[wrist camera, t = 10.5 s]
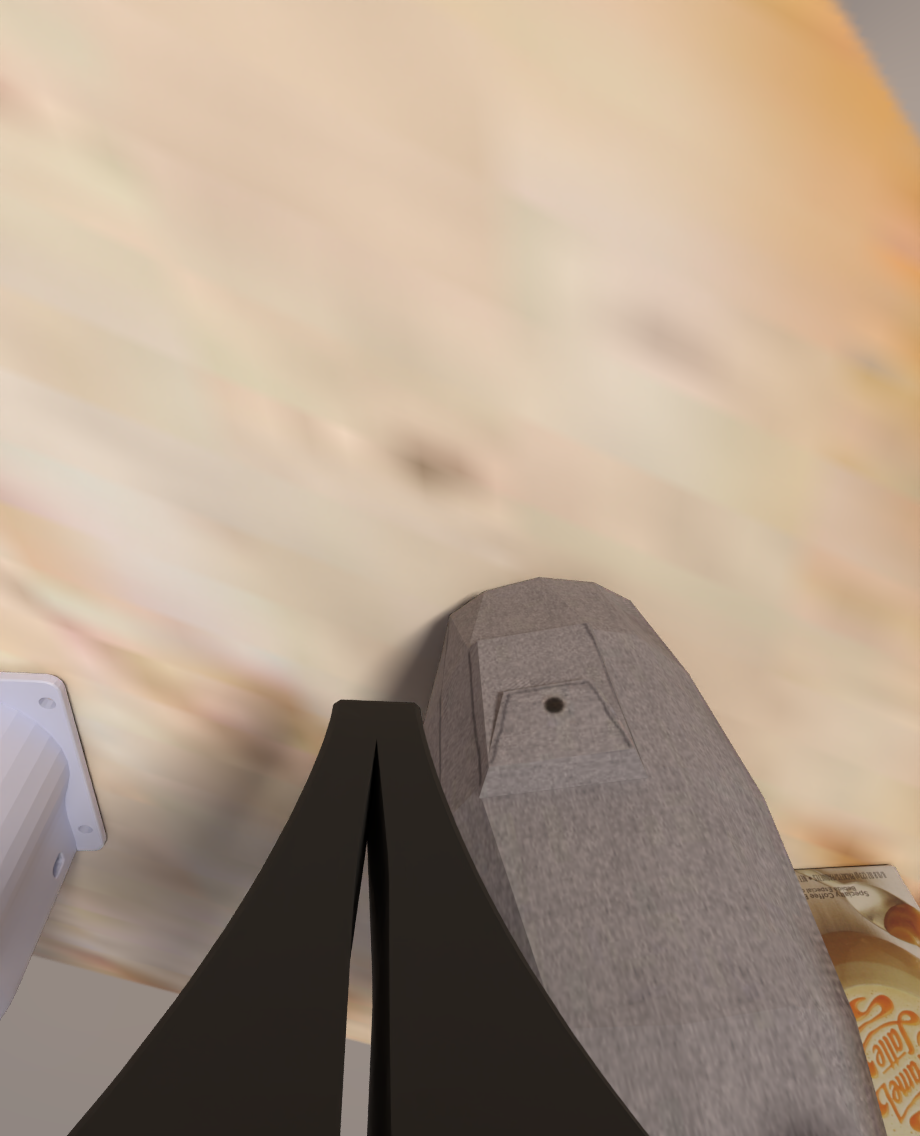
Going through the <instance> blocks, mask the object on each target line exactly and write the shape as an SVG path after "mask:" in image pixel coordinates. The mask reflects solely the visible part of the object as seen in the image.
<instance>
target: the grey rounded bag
mask: <svg viewBox="0 0 920 1136" xmlns="http://www.w3.org/2000/svg"><path fill="white" fill-rule="evenodd" d="M423 727H424V732H425V735H426V739H427V743H428V746H429V750H430V753H431V756H432V760H433V763H434V766H435V769H436V772H437V775H438V778H439V781H440V783H441V786H442V789H443V792H444V794H445V797H446V799H447V802H448V804H449V807H450V809H451V812H452V814H453V817H454V819H455V822H456V824H457V827H458V829H459V831H460V834H461V836H462V838H463V841H464V843H465V845H466V847H467V849H468V851H469V854H470V856H471V858H472V860H473V862H474V864H475V867H476V869H477V871H478V873H479V875H480V877H481V879H482V881H483V883H484V885H485V887H486V889H487V891H488V893H489V895H490V897H491V899H492V901H493V902H494V904H495V906H496V908H497V910H498V912H499V913H500V915H501V917H502V919H503V921H504V923H505V924H506V926H507V928H508V930H509V932H510V933H511V935H512V937H513V939H514V940H515V942H516V944H517V945H518V947H519V949H520V951H521V952H522V954H523V956H524V957H525V959H526V961H527V962H528V964H529V966H530V967H531V969H532V971H533V972H534V974H535V975H536V977H537V978H538V980H539V981H540V983H541V984H542V986H543V988H544V989H545V991H546V992H547V994H548V995H549V997H550V998H551V1000H552V1001H553V1003H554V1004H555V1006H556V1008H557V1009H558V1011H559V1012H560V1014H561V1015H562V1017H563V1018H564V1020H565V1021H566V1023H567V1025H568V1026H569V1028H570V1029H571V1031H572V1032H573V1034H574V1035H575V1036H576V1038H577V1039H578V1041H579V1042H580V1043H581V1045H582V1046H583V1048H584V1049H585V1050H586V1052H587V1053H588V1055H589V1056H590V1058H591V1059H592V1060H593V1062H594V1063H595V1065H596V1066H597V1067H598V1069H599V1070H600V1072H601V1073H602V1074H603V1076H604V1077H605V1078H606V1080H607V1081H608V1082H609V1084H610V1085H611V1086H612V1088H613V1089H614V1090H615V1092H616V1093H617V1094H618V1096H619V1097H620V1098H621V1100H622V1101H623V1102H624V1104H625V1105H626V1106H627V1108H628V1109H629V1110H630V1112H631V1113H632V1114H633V1116H634V1117H635V1118H636V1119H637V1121H638V1122H639V1123H640V1124H641V1126H642V1127H643V1128H644V1130H645V1131H646V1132H647V1133H648V1135H649V1136H887V1133H886V1129H885V1126H884V1122H883V1118H882V1114H881V1111H880V1107H879V1103H878V1100H877V1096H876V1092H875V1088H874V1085H873V1081H872V1077H871V1074H870V1070H869V1066H868V1063H867V1059H866V1055H865V1051H864V1048H863V1044H862V1040H861V1037H860V1033H859V1029H858V1025H857V1022H856V1018H855V1016H854V1013H853V1011H852V1008H851V1006H850V1004H849V1001H848V999H847V996H846V994H845V992H844V989H843V987H842V984H841V982H840V980H839V977H838V975H837V972H836V970H835V968H834V965H833V963H832V960H831V958H830V955H829V953H828V951H827V948H826V946H825V943H824V941H823V939H822V936H821V934H820V931H819V929H818V927H817V924H816V922H815V919H814V917H813V915H812V912H811V910H810V907H809V905H808V903H807V900H806V898H805V895H804V893H803V890H802V888H801V886H800V883H799V881H798V878H797V876H796V874H795V871H794V869H793V866H792V864H791V862H790V859H789V857H788V854H787V852H786V850H785V847H784V845H783V842H782V840H781V838H780V835H779V833H778V830H777V828H776V825H775V823H774V821H773V818H772V816H771V813H770V811H769V809H768V806H767V804H766V801H765V799H764V797H763V795H762V794H761V792H760V790H759V789H758V787H757V785H756V784H755V782H754V780H753V779H752V777H751V776H750V774H749V772H748V771H747V769H746V767H745V766H744V764H743V762H742V761H741V759H740V757H739V756H738V754H737V752H736V751H735V749H734V748H733V746H732V744H731V743H730V741H729V739H728V738H727V736H726V734H725V733H724V731H723V729H722V728H721V726H720V725H719V723H718V721H717V720H716V718H715V716H714V715H713V713H712V711H711V710H710V708H709V706H708V705H707V703H706V702H705V700H704V698H703V697H702V695H701V693H700V692H699V690H698V688H697V687H696V685H695V683H694V682H693V680H692V679H691V677H690V675H689V674H688V672H687V671H686V670H685V669H684V667H683V666H682V665H681V663H680V662H679V661H678V660H677V658H676V657H675V656H674V655H673V653H672V652H671V651H670V650H669V648H668V647H667V646H666V645H665V643H664V642H663V641H662V640H661V638H660V637H659V636H658V635H657V633H656V632H655V631H654V630H653V628H652V627H651V626H650V625H649V623H648V622H647V621H646V620H645V618H644V617H643V616H642V615H641V613H640V612H639V611H638V610H637V608H636V607H635V606H634V605H633V603H632V602H631V601H630V600H628V599H626V598H624V597H622V596H620V595H618V594H616V593H614V592H612V591H610V590H608V589H606V588H604V587H602V586H600V585H598V584H596V583H594V582H583V581H573V580H563V579H552V578H542V577H538V578H534V579H530V580H526V581H523V582H519V583H515V584H511V585H507V586H503V587H499V588H495V589H491V590H488V591H484V592H483V593H481V594H480V595H478V596H477V597H476V598H474V599H473V600H471V601H470V602H468V603H467V604H465V605H464V606H462V607H461V608H460V609H458V610H457V611H455V612H454V613H452V614H451V615H450V616H449V621H448V625H447V630H446V634H445V639H444V644H443V648H442V653H441V657H440V661H439V665H438V669H437V673H436V677H435V681H434V685H433V689H432V693H431V697H430V701H429V705H428V709H427V713H426V717H425V721H424V725H423Z"/></svg>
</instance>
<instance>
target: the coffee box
mask: <svg viewBox="0 0 920 1136" xmlns="http://www.w3.org/2000/svg"><path fill="white" fill-rule="evenodd" d="M794 871H795V874H796V876H797V878H798V881H799V883H800V886H801V888H802V890H803V893H804V895H805V898H806V900H807V903H808V905H809V907H810V910H811V912H812V915H813V917H814V919H815V922H816V924H817V927H818V929H819V931H820V934H821V936H822V939H823V941H824V943H825V946H826V948H827V951H828V953H829V955H830V958H831V960H832V963H833V965H834V968H835V970H836V972H837V975H838V977H839V980H840V982H841V984H842V987H843V989H844V992H845V994H846V996H847V999H848V1001H849V1004H850V1006H851V1008H852V1011H853V1013H854V1016H855V1018H856V1022H857V1025H858V1029H859V1033H860V1037H861V1040H862V1044H863V1048H864V1051H865V1055H866V1059H867V1063H868V1066H869V1070H870V1074H871V1077H872V1081H873V1085H874V1088H875V1092H876V1096H877V1100H878V1103H879V1107H880V1111H881V1114H882V1118H883V1122H884V1126H885V1129H886V1133H887V1136H920V908H919V906H918V905H917V903H916V901H915V900H914V898H913V896H912V895H911V893H910V891H909V890H908V888H907V886H906V885H905V883H904V882H903V880H902V878H901V877H900V875H899V873H898V871H897V869H896V867H894V866H892V865H880V866H861V867H839V868H823V869H802V870H794Z"/></svg>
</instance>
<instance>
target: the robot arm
mask: <svg viewBox="0 0 920 1136" xmlns="http://www.w3.org/2000/svg"><path fill="white" fill-rule="evenodd" d="M48 698H50V699H48ZM51 699H52V700H51ZM105 841H106V833H105V830H104V826H103V823H102V819H101V815H100V812H99V808H98V804H97V801H96V797H95V794H94V790H93V786H92V783H91V779H90V775H89V772H88V768H87V765H86V761H85V757H84V754H83V750H82V746H81V743H80V739H79V735H78V732H77V728H76V725H75V721H74V717H73V714H72V710H71V706H70V703H69V699H68V696H67V692H66V688H65V685H64V683H63V682H62V681H61V680H60V679H59V678H58V677H56V676H54V675H50V674H37V673H15V672H0V1019H1V1018H2V1016H3V1015H4V1014H5V1012H6V1010H7V1009H8V1007H9V1005H10V1004H11V1002H12V999H13V998H14V996H15V993H16V991H17V989H18V986H19V984H20V982H21V979H22V977H23V975H24V972H25V970H26V968H27V965H28V963H29V961H30V958H31V956H32V954H33V951H34V949H35V947H36V944H37V942H38V940H39V937H40V935H41V933H42V930H43V928H44V926H45V923H46V921H47V919H48V916H49V914H50V912H51V909H52V907H53V905H54V902H55V900H56V898H57V895H58V893H59V890H60V888H61V886H62V883H63V881H64V879H65V876H66V874H67V872H68V869H69V867H70V865H71V862H72V860H73V858H74V855H75V853H76V851H96V850H99V849H101V848H102V847H103V846H104V844H105ZM366 845H367V848H368V875H369V901H370V927H371V953H372V1002H373V1008H372V1033H371V1058H370V1081H369V1104H368V1128H367V1136H649V1135H648V1133H647V1132H646V1131H645V1130H644V1128H643V1127H642V1126H641V1124H640V1123H639V1122H638V1121H637V1119H636V1118H635V1117H634V1116H633V1114H632V1113H631V1112H630V1110H629V1109H628V1108H627V1106H626V1105H625V1104H624V1102H623V1101H622V1100H621V1098H620V1097H619V1096H618V1094H617V1093H616V1092H615V1090H614V1089H613V1088H612V1086H611V1085H610V1084H609V1082H608V1081H607V1080H606V1078H605V1077H604V1076H603V1074H602V1073H601V1072H600V1070H599V1069H598V1067H597V1066H596V1065H595V1063H594V1062H593V1060H592V1059H591V1058H590V1056H589V1055H588V1053H587V1052H586V1050H585V1049H584V1048H583V1046H582V1045H581V1043H580V1042H579V1041H578V1039H577V1038H576V1036H575V1035H574V1034H573V1032H572V1031H571V1029H570V1028H569V1026H568V1025H567V1023H566V1021H565V1020H564V1018H563V1017H562V1015H561V1014H560V1012H559V1011H558V1009H557V1008H556V1006H555V1004H554V1003H553V1001H552V1000H551V998H550V997H549V995H548V994H547V992H546V991H545V989H544V988H543V986H542V984H541V983H540V981H539V980H538V978H537V977H536V975H535V974H534V972H533V971H532V969H531V967H530V966H529V964H528V962H527V961H526V959H525V957H524V956H523V954H522V952H521V951H520V949H519V947H518V945H517V944H516V942H515V940H514V939H513V937H512V935H511V933H510V932H509V930H508V928H507V926H506V924H505V923H504V921H503V919H502V917H501V915H500V913H499V912H498V910H497V908H496V906H495V904H494V902H493V901H492V899H491V897H490V895H489V893H488V891H487V889H486V887H485V885H484V883H483V881H482V879H481V877H480V875H479V873H478V871H477V869H476V867H475V864H474V862H473V860H472V858H471V856H470V854H469V851H468V849H467V847H466V845H465V843H464V841H463V838H462V836H461V834H460V831H459V829H458V827H457V824H456V822H455V819H454V817H453V814H452V812H451V809H450V807H449V804H448V802H447V799H446V797H445V794H444V792H443V789H442V786H441V783H440V781H439V778H438V775H437V772H436V769H435V766H434V763H433V760H432V756H431V753H430V750H429V746H428V743H427V739H426V735H425V732H424V727H423V723H422V718H421V712H420V708H419V707H418V706H417V705H416V704H415V703H407V702H384V701H361V700H339V701H338V702H336V703H335V704H334V705H333V709H332V714H331V718H330V722H329V725H328V729H327V732H326V735H325V738H324V741H323V743H322V746H321V749H320V751H319V754H318V756H317V759H316V761H315V764H314V766H313V769H312V771H311V773H310V775H309V778H308V780H307V782H306V784H305V786H304V788H303V791H302V793H301V795H300V797H299V799H298V801H297V803H296V806H295V808H294V810H293V812H292V814H291V816H290V818H289V820H288V822H287V824H286V825H285V827H284V829H283V831H282V833H281V835H280V836H279V838H278V840H277V842H276V844H275V846H274V848H273V849H272V851H271V853H270V855H269V857H268V859H267V860H266V862H265V864H264V866H263V868H262V869H261V871H260V873H259V874H258V876H257V878H256V879H255V881H254V883H253V885H252V886H251V888H250V890H249V891H248V893H247V894H246V896H245V898H244V899H243V901H242V903H241V904H240V906H239V907H238V909H237V910H236V912H235V914H234V915H233V917H232V918H231V920H230V921H229V923H228V925H227V926H226V928H225V929H224V931H223V932H222V934H221V935H220V937H219V938H218V940H217V941H216V942H215V944H214V945H213V947H212V948H211V950H210V951H209V953H208V954H207V956H206V957H205V959H204V960H203V962H202V963H201V965H200V966H199V967H198V969H197V970H196V972H195V973H194V975H193V976H192V977H191V979H190V980H189V982H188V983H187V985H186V986H185V987H184V989H183V990H182V991H181V993H180V994H179V996H178V997H177V998H176V1000H175V1001H174V1002H173V1004H172V1005H171V1006H170V1008H169V1009H168V1010H167V1012H166V1013H165V1014H164V1016H163V1017H162V1018H161V1019H160V1021H159V1022H158V1023H157V1025H156V1026H155V1027H154V1029H153V1030H152V1031H151V1032H150V1034H149V1035H148V1036H147V1038H146V1039H145V1040H144V1042H143V1043H142V1044H141V1046H140V1047H139V1048H138V1049H137V1051H136V1052H135V1053H134V1055H133V1056H132V1057H131V1059H130V1060H129V1061H128V1063H127V1064H126V1065H125V1067H124V1068H123V1069H122V1070H121V1072H120V1073H119V1074H118V1075H117V1076H116V1078H115V1079H114V1080H113V1082H112V1083H111V1084H110V1085H109V1086H108V1088H107V1089H106V1090H105V1091H104V1093H103V1094H102V1095H101V1096H100V1097H99V1098H98V1100H97V1101H96V1102H95V1103H94V1104H93V1106H92V1107H91V1108H90V1109H89V1110H88V1111H87V1113H86V1114H85V1115H84V1116H83V1117H82V1119H81V1120H80V1121H79V1122H78V1123H77V1124H76V1126H75V1127H74V1128H73V1129H72V1130H71V1132H70V1133H69V1134H68V1135H67V1136H340V1127H341V1108H342V1091H343V1073H344V1055H345V1038H346V1020H347V1003H348V985H349V968H350V957H351V950H352V943H353V936H354V929H355V922H356V915H357V908H358V901H359V894H360V887H361V880H362V873H363V866H364V859H365V852H366Z"/></svg>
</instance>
